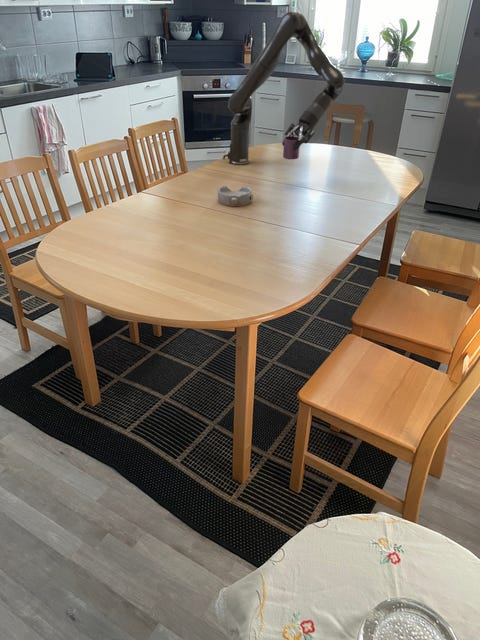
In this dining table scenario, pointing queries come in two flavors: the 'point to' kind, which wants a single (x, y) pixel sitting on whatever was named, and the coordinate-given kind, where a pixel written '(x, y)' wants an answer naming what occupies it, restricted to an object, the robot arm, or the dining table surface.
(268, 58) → the robot arm
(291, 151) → the cup
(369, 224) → the dining table surface
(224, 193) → the dish
